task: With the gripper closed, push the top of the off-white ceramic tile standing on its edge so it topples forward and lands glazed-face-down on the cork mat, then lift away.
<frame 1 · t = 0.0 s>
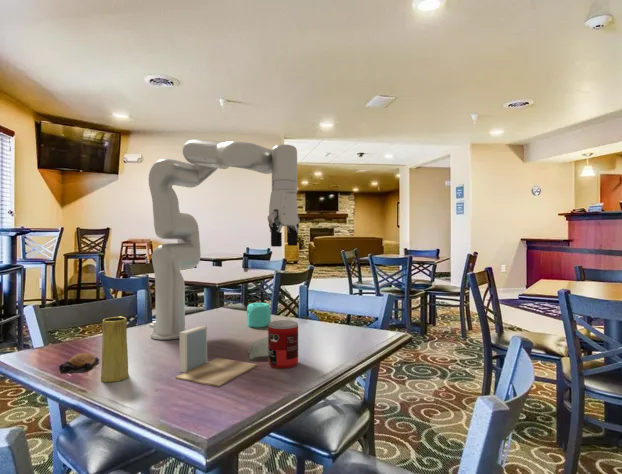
hand: (284, 246, 116), 31 cm above the table, tool pointing down, fingers open, 9 cm apart
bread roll: (79, 368, 104), on the table
mat: (218, 371, 100), on the table
canned food: (283, 365, 105), on the table
vase: (114, 378, 96), on the table
tile: (193, 367, 103), on the table
stone slab: (264, 351, 120), on the table
decorative dice: (258, 325, 151), on the table
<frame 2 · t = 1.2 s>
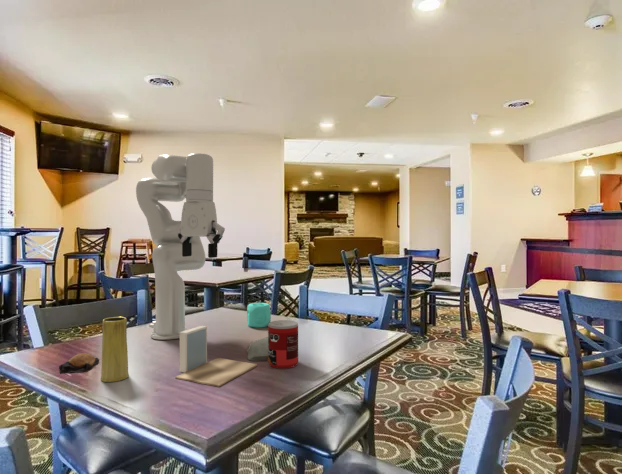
hand: (199, 256, 114), 28 cm above the table, tool pointing down, fingers open, 9 cm apart
nothing on the table moved.
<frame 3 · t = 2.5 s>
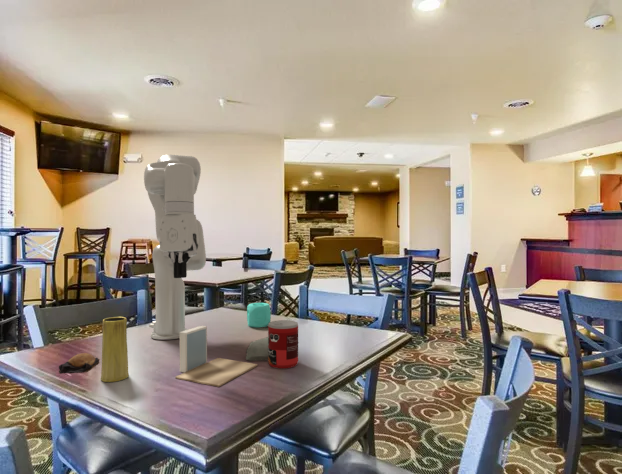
hand: (180, 277, 106), 23 cm above the table, tool pointing down, fingers closed
nothing on the table moved.
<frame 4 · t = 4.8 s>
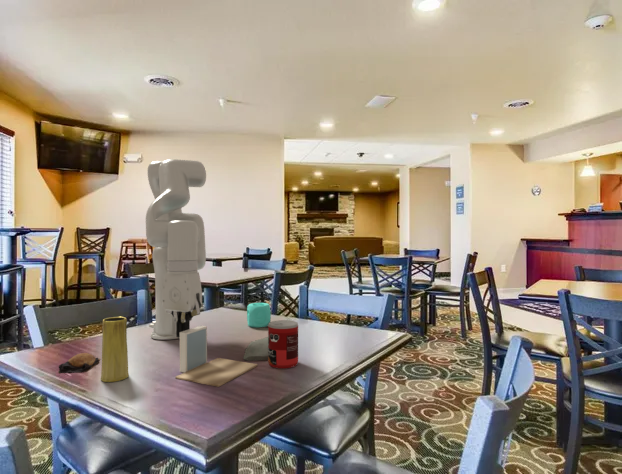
hand: (183, 336, 105), 8 cm above the table, tool pointing down, fingers closed
nothing on the table moved.
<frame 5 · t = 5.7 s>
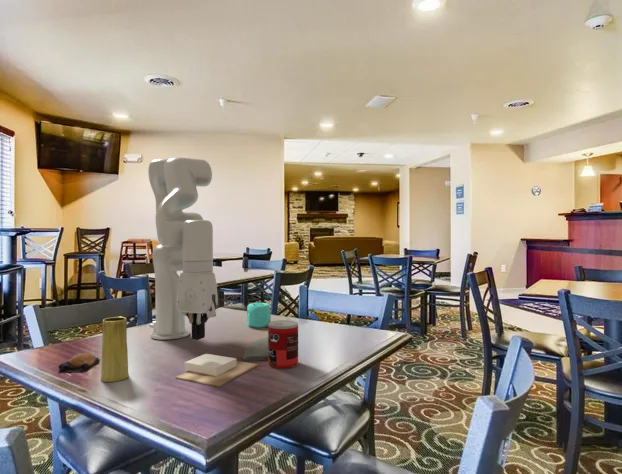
hand: (198, 338, 102), 8 cm above the table, tool pointing down, fingers closed
tile: (195, 361, 103), point 2 cm above the table, tilted 90°, touching mat
everything else where it was.
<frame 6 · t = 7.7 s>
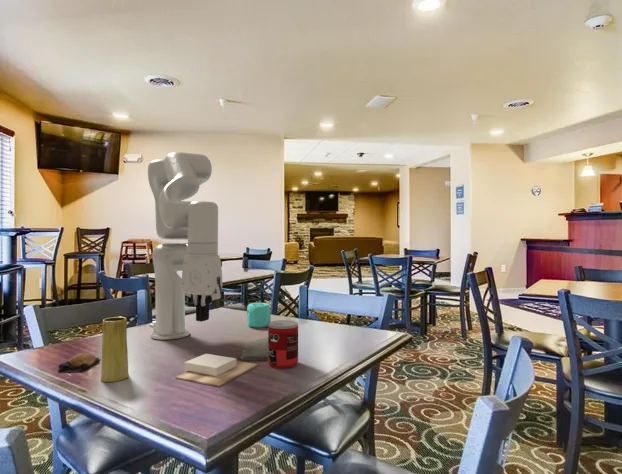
hand: (202, 320, 102), 12 cm above the table, tool pointing down, fingers closed
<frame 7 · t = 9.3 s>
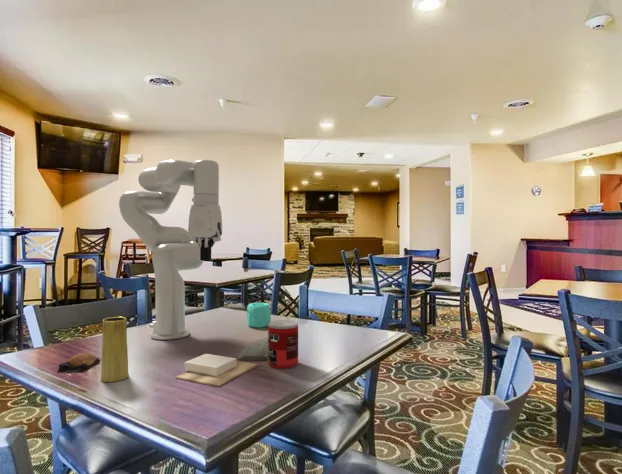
hand: (205, 260, 122), 27 cm above the table, tool pointing down, fingers closed
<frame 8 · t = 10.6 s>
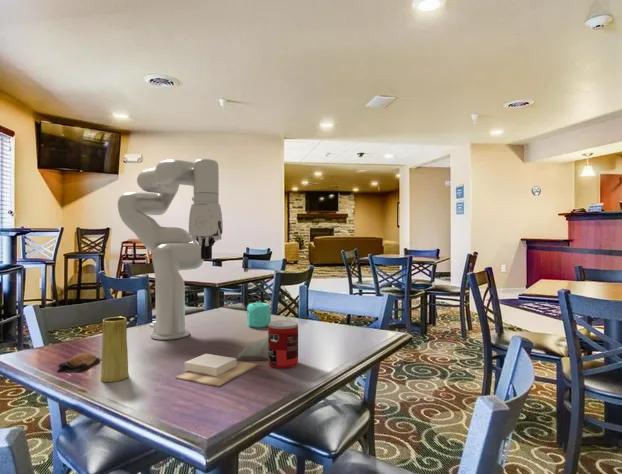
hand: (206, 258, 123), 27 cm above the table, tool pointing down, fingers closed
at the end: tile tilted 90°; tile inside the target area (3.9 cm from its centre), point 1.5 cm above the table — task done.
